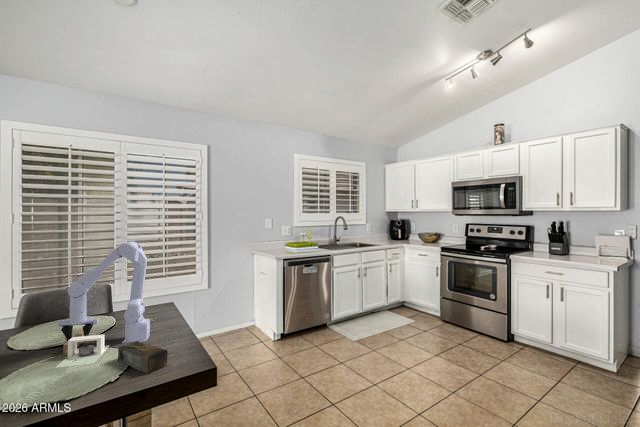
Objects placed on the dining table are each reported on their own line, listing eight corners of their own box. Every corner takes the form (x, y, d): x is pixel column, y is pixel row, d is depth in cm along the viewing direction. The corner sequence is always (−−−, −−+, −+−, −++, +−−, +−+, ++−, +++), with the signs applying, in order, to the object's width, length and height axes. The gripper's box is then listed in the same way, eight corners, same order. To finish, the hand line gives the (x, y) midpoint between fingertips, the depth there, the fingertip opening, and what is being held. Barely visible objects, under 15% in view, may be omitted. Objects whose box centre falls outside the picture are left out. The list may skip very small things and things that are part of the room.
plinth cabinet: (104, 351, 127) (104, 334, 127) (100, 355, 123) (101, 338, 123) (72, 354, 124) (72, 337, 124) (67, 359, 120) (67, 341, 120)
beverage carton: (137, 354, 125) (138, 338, 125) (168, 366, 116) (169, 348, 116) (116, 362, 118) (117, 345, 118) (148, 375, 109) (148, 356, 109)
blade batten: (86, 340, 139) (86, 330, 139) (69, 355, 124) (70, 344, 124) (80, 341, 138) (80, 330, 138) (63, 356, 123) (63, 344, 123)
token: (96, 350, 127) (96, 344, 127) (91, 355, 122) (91, 349, 122) (81, 351, 125) (81, 345, 125) (76, 357, 120) (76, 351, 121)
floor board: (109, 346, 132) (110, 345, 132) (94, 364, 116) (94, 363, 116) (76, 349, 128) (76, 348, 129) (55, 369, 112) (55, 367, 112)
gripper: (101, 306, 139) (100, 336, 139) (62, 308, 135) (61, 340, 134) (95, 310, 132) (94, 343, 132) (54, 313, 128) (53, 346, 128)
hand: (77, 342), depth 133 cm, fingers open, 5 cm apart
